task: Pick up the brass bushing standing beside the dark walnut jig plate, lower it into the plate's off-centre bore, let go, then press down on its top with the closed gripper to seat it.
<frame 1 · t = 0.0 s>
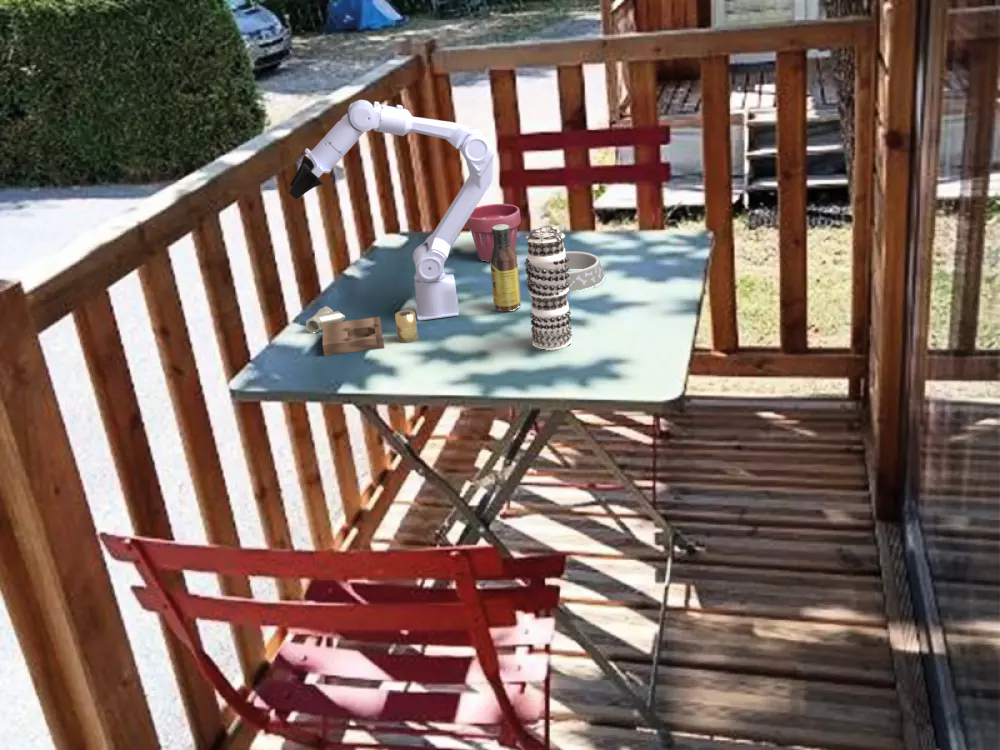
hand: (292, 191, 248), 32 cm above the table, tool tilted 50°, fingers open, 7 cm apart
sauce bottle: (507, 309, 263), on the table
dog bowl: (567, 282, 277), on the table
decorative candle: (552, 343, 242), on the table
brass bushing: (408, 339, 250), on the table
walnut jig plate: (353, 341, 252), on the table
pipe fitting: (327, 328, 261), on the table
plant pot: (496, 258, 299), on the table
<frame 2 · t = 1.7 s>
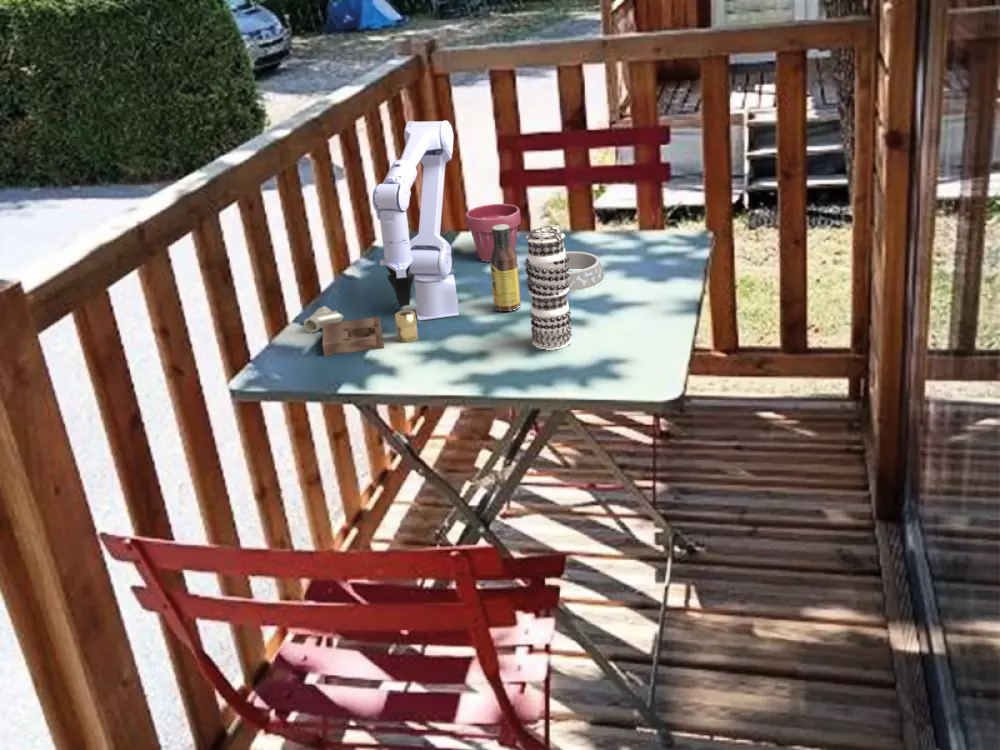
hand: (403, 299, 246), 9 cm above the table, tool pointing down, fingers open, 7 cm apart
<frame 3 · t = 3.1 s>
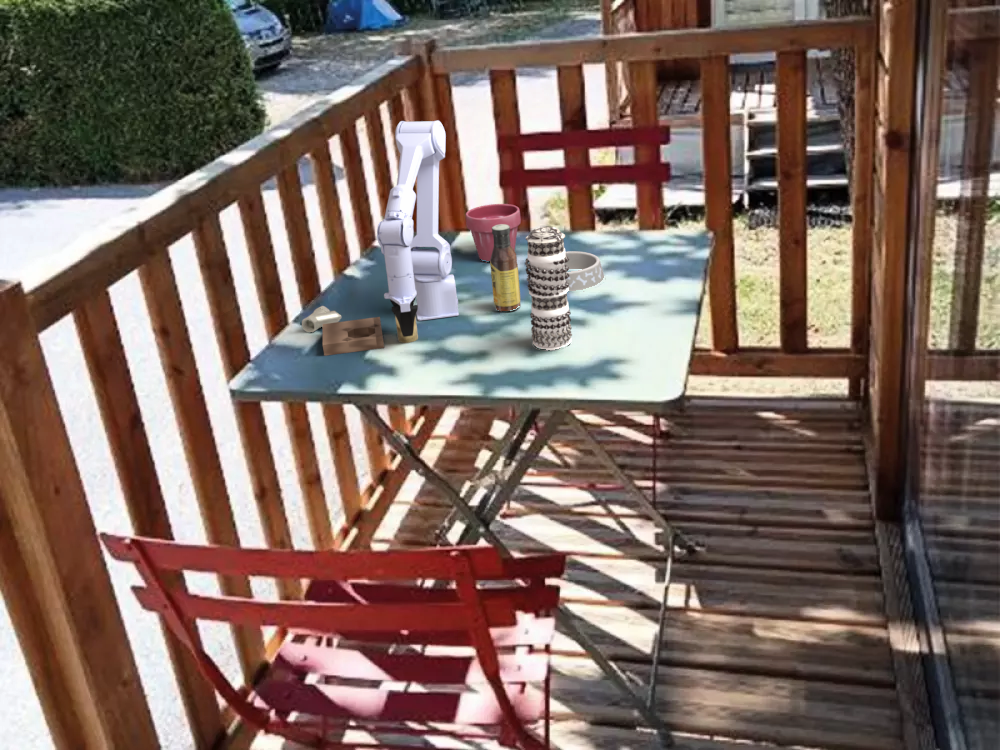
hand: (407, 331, 250), 2 cm above the table, tool pointing down, fingers closed on brass bushing, 4 cm apart
brass bushing: (408, 339, 250), on the table, touching gripper
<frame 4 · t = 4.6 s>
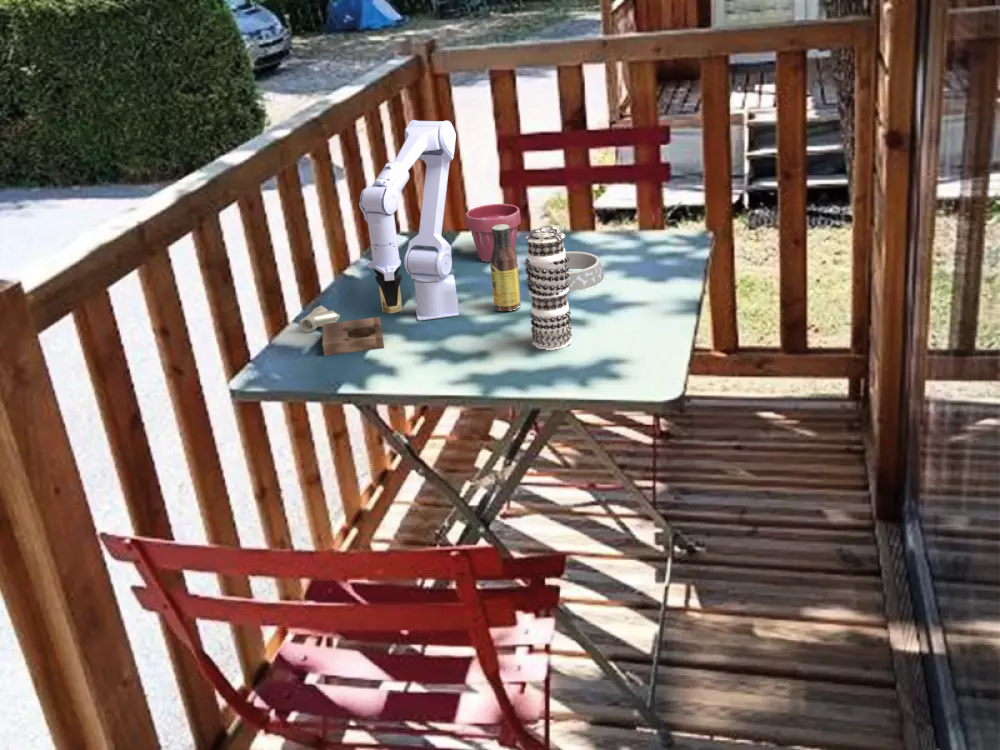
hand: (391, 302, 247), 9 cm above the table, tool pointing down, fingers closed on brass bushing, 4 cm apart
brass bushing: (392, 309, 247), point 7 cm above the table, touching gripper
when the fingers open (3 cm above the table, at t = 6.6 s): brass bushing drops 2 cm, resting in walnut jig plate.
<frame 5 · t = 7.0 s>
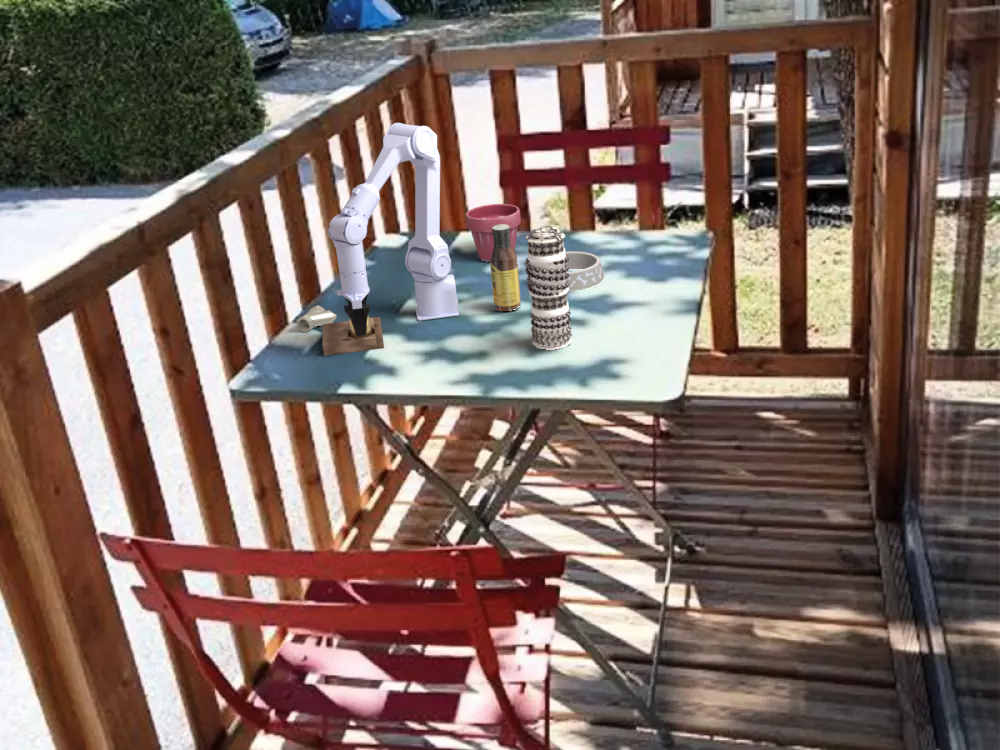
hand: (360, 328, 249), 3 cm above the table, tool pointing down, fingers open, 7 cm apart
brass bushing: (362, 343, 250), resting in walnut jig plate
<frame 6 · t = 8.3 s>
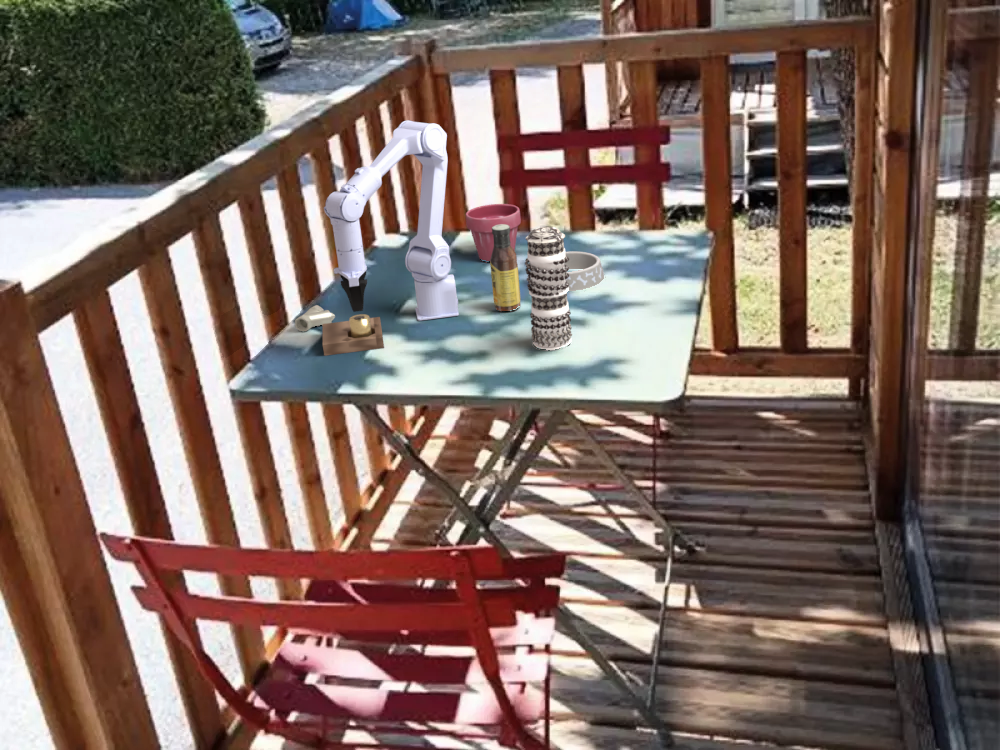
hand: (357, 307, 247), 8 cm above the table, tool pointing down, fingers open, 4 cm apart
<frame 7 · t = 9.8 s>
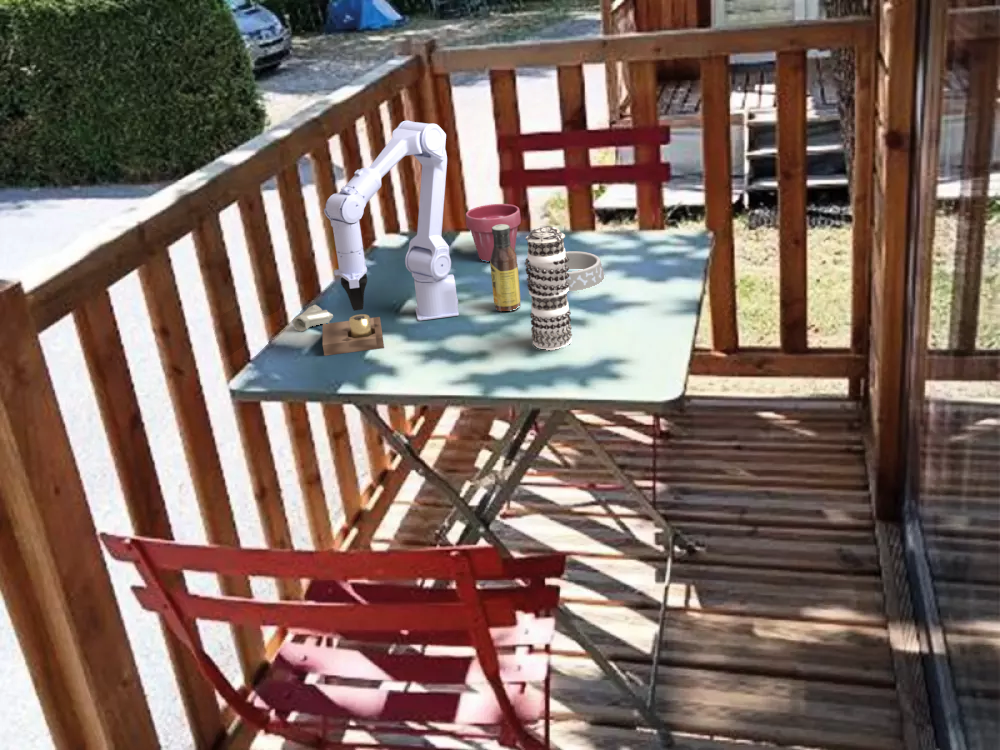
hand: (358, 309, 247), 8 cm above the table, tool pointing down, fingers closed
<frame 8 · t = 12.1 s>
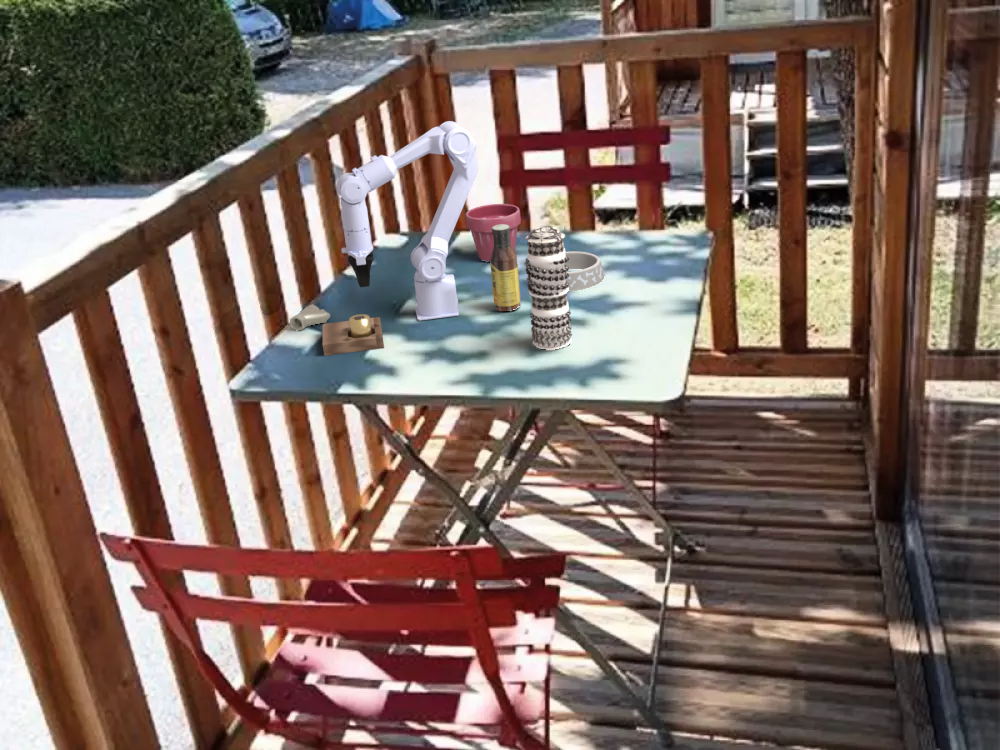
hand: (364, 286, 257), 9 cm above the table, tool pointing down, fingers closed
at the end: brass bushing 0.0 cm from the target spot in the walnut jig plate, point 0.0 cm above the walnut jig plate's base; brass bushing tilted 0°; the gripper is holding nothing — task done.
